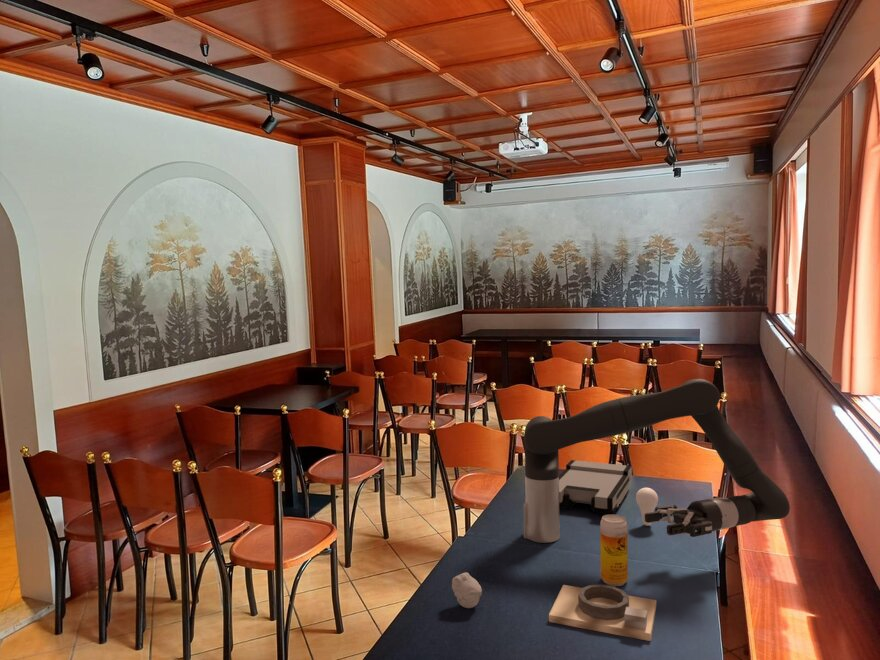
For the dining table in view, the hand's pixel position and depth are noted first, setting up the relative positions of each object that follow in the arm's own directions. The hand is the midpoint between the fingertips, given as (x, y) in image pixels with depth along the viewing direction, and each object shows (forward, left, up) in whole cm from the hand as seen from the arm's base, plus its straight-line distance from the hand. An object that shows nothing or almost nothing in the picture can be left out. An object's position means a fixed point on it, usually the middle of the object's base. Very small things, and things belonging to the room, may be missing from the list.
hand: (656, 524), depth 148 cm
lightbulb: (-5, +31, -12) cm, 34 cm away
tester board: (-9, -23, -12) cm, 28 cm away
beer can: (-9, -7, -12) cm, 17 cm away
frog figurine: (-37, -30, -12) cm, 49 cm away
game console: (-24, +48, -13) cm, 55 cm away
